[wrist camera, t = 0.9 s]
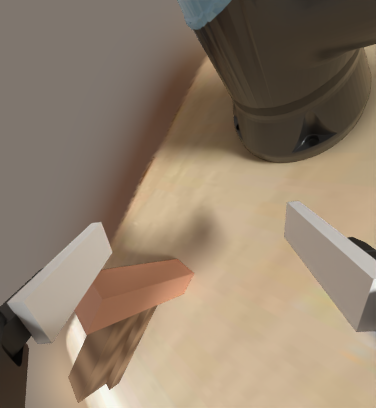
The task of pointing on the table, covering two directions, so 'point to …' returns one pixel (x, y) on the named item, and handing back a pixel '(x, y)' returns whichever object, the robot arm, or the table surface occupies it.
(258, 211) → the table surface
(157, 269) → the rod
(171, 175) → the table surface
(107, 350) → the brown wooden block
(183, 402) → the table surface
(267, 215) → the table surface
